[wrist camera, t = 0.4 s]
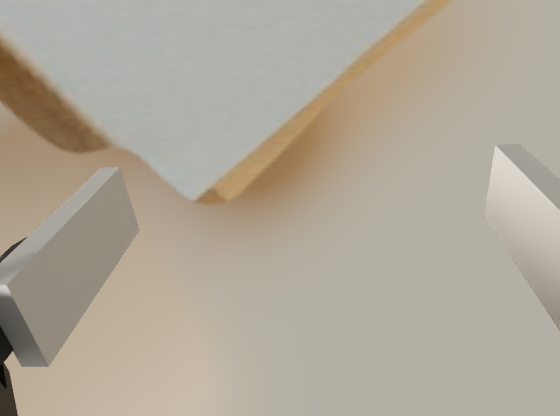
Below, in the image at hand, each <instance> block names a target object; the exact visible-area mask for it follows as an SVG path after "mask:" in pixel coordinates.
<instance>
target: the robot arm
mask: <svg viewBox="0 0 560 416" xmlns="http://www.w3.org/2000/svg"><path fill="white" fill-rule="evenodd" d="M484 217H485V219H486V220H487V222H488V223H489V225H490V226H491V228H492V229H493V231H494V232H495V234H496V235H497V237H498V238H499V240H500V241H501V243H502V244H503V246H504V247H505V249H506V250H507V252H508V253H509V255H510V256H511V258H512V259H513V261H514V262H515V264H516V265H517V267H518V268H519V270H520V271H521V273H522V275H523V276H524V278H525V279H526V280H527V282H528V283H529V285H530V287H531V288H532V289H533V291H534V293H535V294H536V296H537V297H538V299H539V300H540V302H541V303H542V305H543V306H544V308H545V309H546V311H547V312H548V314H549V315H550V317H551V318H552V320H553V321H554V323H555V324H556V325H557V327H558V329H559V330H560V179H559V178H558V177H557V176H556V175H554V174H553V173H552V172H551V171H550V170H549V169H548V168H547V167H545V166H544V165H543V164H542V163H541V162H540V161H539V160H538V159H536V158H535V157H534V156H533V155H532V154H531V153H530V152H529V151H527V150H526V149H525V148H524V147H523V146H522V145H521V144H508V145H496V146H495V152H494V158H493V164H492V170H491V177H490V183H489V188H488V195H487V200H486V207H485V213H484ZM138 231H139V228H138V224H137V221H136V218H135V215H134V211H133V208H132V205H131V202H130V198H129V195H128V191H127V188H126V185H125V181H124V178H123V175H122V172H121V168H120V167H111V168H100V169H99V170H98V171H97V172H96V173H95V174H94V175H93V176H91V177H90V178H89V179H88V180H87V181H86V182H85V183H84V184H83V185H82V186H81V187H80V188H79V189H78V190H77V191H76V192H75V193H74V194H72V195H71V196H70V197H69V198H68V199H67V200H66V201H65V202H64V203H63V204H62V205H61V206H60V207H59V208H58V209H57V210H56V211H55V212H54V213H52V214H51V215H50V216H49V217H48V218H47V219H46V220H45V221H44V222H43V223H42V224H41V225H40V226H39V227H38V228H37V229H36V230H34V231H33V232H32V233H31V234H30V235H29V236H28V237H26V238H24V239H23V240H21V241H19V242H18V243H16V244H14V245H13V246H11V247H10V248H9V249H8V250H7V251H6V252H5V253H4V254H3V255H2V256H1V257H0V416H18V415H17V409H16V404H15V399H14V394H13V389H12V384H11V378H10V373H9V371H8V369H7V367H6V366H5V364H4V361H5V360H6V359H7V358H8V356H9V355H10V354H11V352H12V351H13V352H14V353H15V355H16V357H17V359H18V360H19V362H20V364H21V366H22V367H24V366H25V367H31V366H34V367H42V366H50V364H51V362H52V361H53V359H54V358H55V356H56V355H57V353H58V352H59V350H60V349H61V347H62V346H63V344H64V343H65V341H66V340H67V338H68V337H69V335H70V334H71V332H72V331H73V329H74V328H75V326H76V325H77V323H78V322H79V320H80V319H81V317H82V316H83V314H84V313H85V311H86V310H87V308H88V307H89V305H90V304H91V302H92V300H93V299H94V297H95V296H96V294H97V293H98V292H99V290H100V288H101V287H102V286H103V284H104V283H105V281H106V280H107V278H108V277H109V275H110V273H111V272H112V271H113V269H114V268H115V266H116V265H117V263H118V262H119V260H120V258H121V257H122V255H123V254H124V252H125V251H126V249H127V247H128V246H129V245H130V243H131V242H132V240H133V239H134V237H135V236H136V234H137V233H138Z"/></svg>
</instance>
